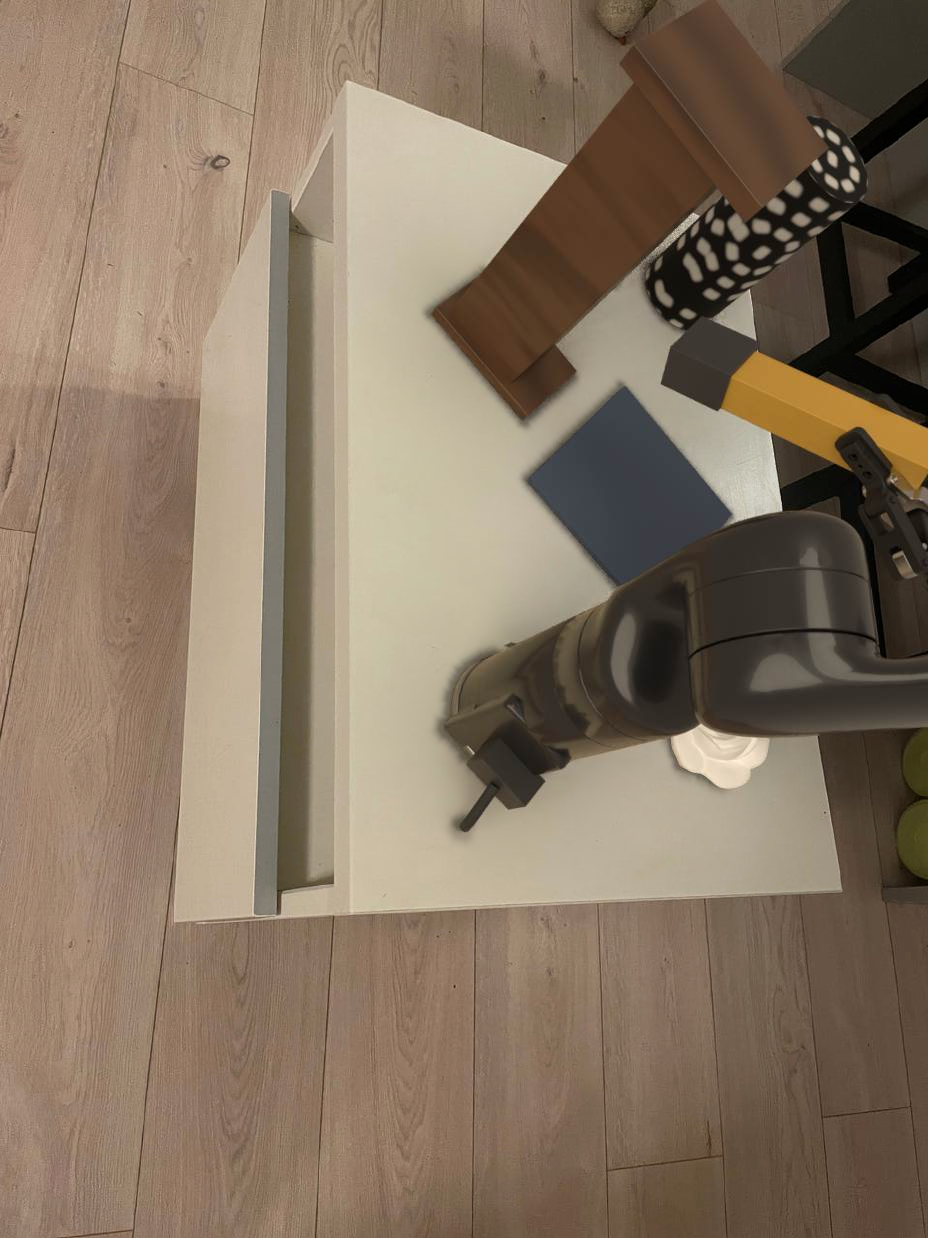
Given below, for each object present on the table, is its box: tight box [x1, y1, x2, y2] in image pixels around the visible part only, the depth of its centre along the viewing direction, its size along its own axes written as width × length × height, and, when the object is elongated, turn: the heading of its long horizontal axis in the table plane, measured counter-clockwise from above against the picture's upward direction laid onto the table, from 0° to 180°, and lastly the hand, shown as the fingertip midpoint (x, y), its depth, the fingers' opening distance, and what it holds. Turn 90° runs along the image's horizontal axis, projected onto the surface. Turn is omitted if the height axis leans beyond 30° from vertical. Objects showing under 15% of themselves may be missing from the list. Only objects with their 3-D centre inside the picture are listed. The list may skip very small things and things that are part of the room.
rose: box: [670, 724, 771, 790], centre depth 79 cm, size 10×4×10 cm
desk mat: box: [526, 385, 733, 588], centre depth 84 cm, size 16×16×1 cm
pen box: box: [660, 316, 928, 489], centre depth 68 cm, size 5×20×4 cm
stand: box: [430, 0, 829, 421], centre depth 69 cm, size 10×12×30 cm
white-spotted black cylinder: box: [645, 115, 869, 331], centre depth 86 cm, size 8×8×20 cm
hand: (859, 418), depth 65 cm, fingers closed on pen box, 4 cm apart
